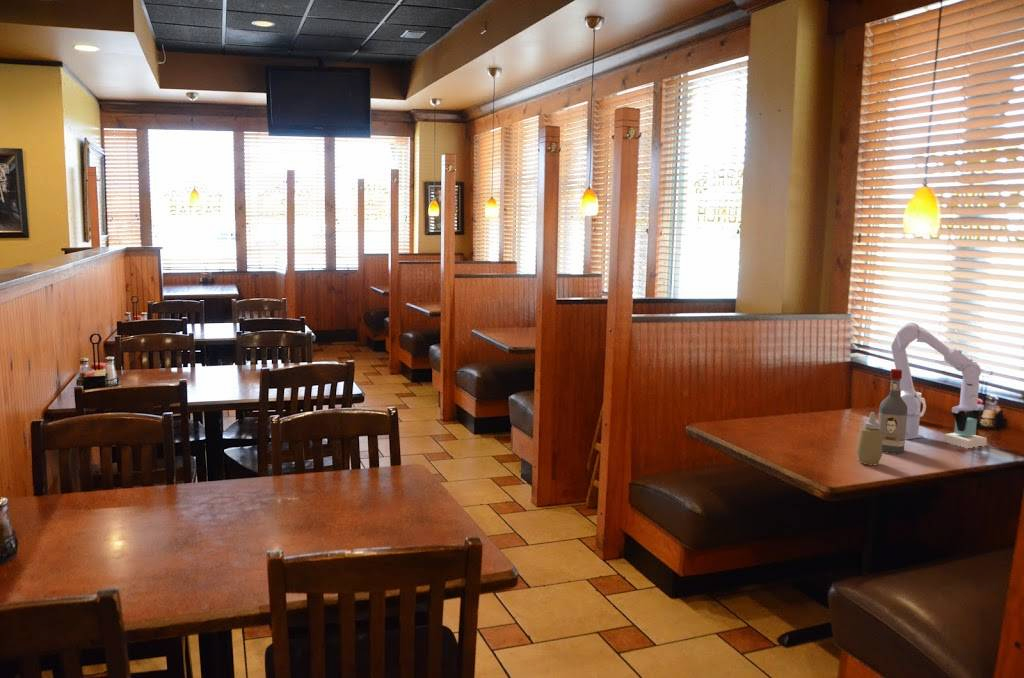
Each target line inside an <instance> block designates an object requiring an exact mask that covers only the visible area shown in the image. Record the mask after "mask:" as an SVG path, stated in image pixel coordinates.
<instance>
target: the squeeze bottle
mask: <svg viewBox="0 0 1024 678" xmlns="http://www.w3.org/2000/svg"><path fill="white" fill-rule="evenodd" d="M860 429H861V430H860V434H859V438H858V445H857V450H856V453H857V457H858V461H859V463H860V462H862V463H866V464H872V465H871V466H875V465H874V464H878V465H879V463H880V461H881V458H882V456H883V452H882V431H881V430H880V429H879V423H878V421H877V419H876V413H875V412H874V411H873V412H870V414H869V416H868V420H867V421H864V425H863V427H862V428H860ZM862 463H861V464H862ZM866 464H865V465H866Z"/></svg>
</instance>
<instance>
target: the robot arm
mask: <svg viewBox="0 0 1024 678" xmlns="http://www.w3.org/2000/svg"><path fill="white" fill-rule="evenodd" d="M915 340H916V342H918V343H924V344H927V345H928V346H930V347H931V348H933V349H934V350H936V351H937V352H938V353H940V354H941V355H943V360H944V361H945V362H946V363H947V364H948V365H950V366H951V367H953V368H954V369H955V370H957V371H958V372H961V374H962V381H961V386H960V397H959V404H958V405H956V406H952V407H951V413H952V415H953V417H954V420H956V423H957V429H958V430H959V431H964V429H965V424H966V420H967V418H968V417H969V418H973V419H977V422H978V421H979V419H980V418H981V416H982V415H983V411H984V408H985V407H984V406H985V405H984V404H980V403H978V399H979V390H980V383H979V382H980V376H981V371H982V370H981V366H980V365H979V364H978V363H977V362H975V361H974V360H973V359H972V358H968V357H967V356H966V355H964V354H963V351H962V350H960V349H957V348H949V347H948V346H947V345H945V343H943V342H942V341H941V340H939V339H938V338H937V337H936V336H934V335H933V334H932V333H930V331H928V330H926V329H925V328H923V327H922V326H919V325H918V324H917V323H915V322H909V323H906V324H905V325H904V326H903V327H901V328H900V329H899V331H897V332H896V335H895V337H894V340H893V342H892V344H891V351H892V352H891V353H892V356H893V357H892V358H893V361H894V366H895V369H900V370H902V379H900V390H899V391H900V397H901V398H902V399H903V401H904V402H905V403H906V405H907V420H906V432H905V440H911V439H920V438H924V435H921V434H919V430H920V418H921V417H920V413H921V412H920V413H919V412H918V408H919V407H920V408H921V404H922V402H920V399H919V398H918V397H917V395H916V392H917V391H916V390H915V387H914V383H913V378H912V373H911V368H910V364H909V360H908V359H909V358H908V354H907V351H906V349H907V347H908V346H909V345H910V344H911V343H912V342H914V341H915Z"/></svg>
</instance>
